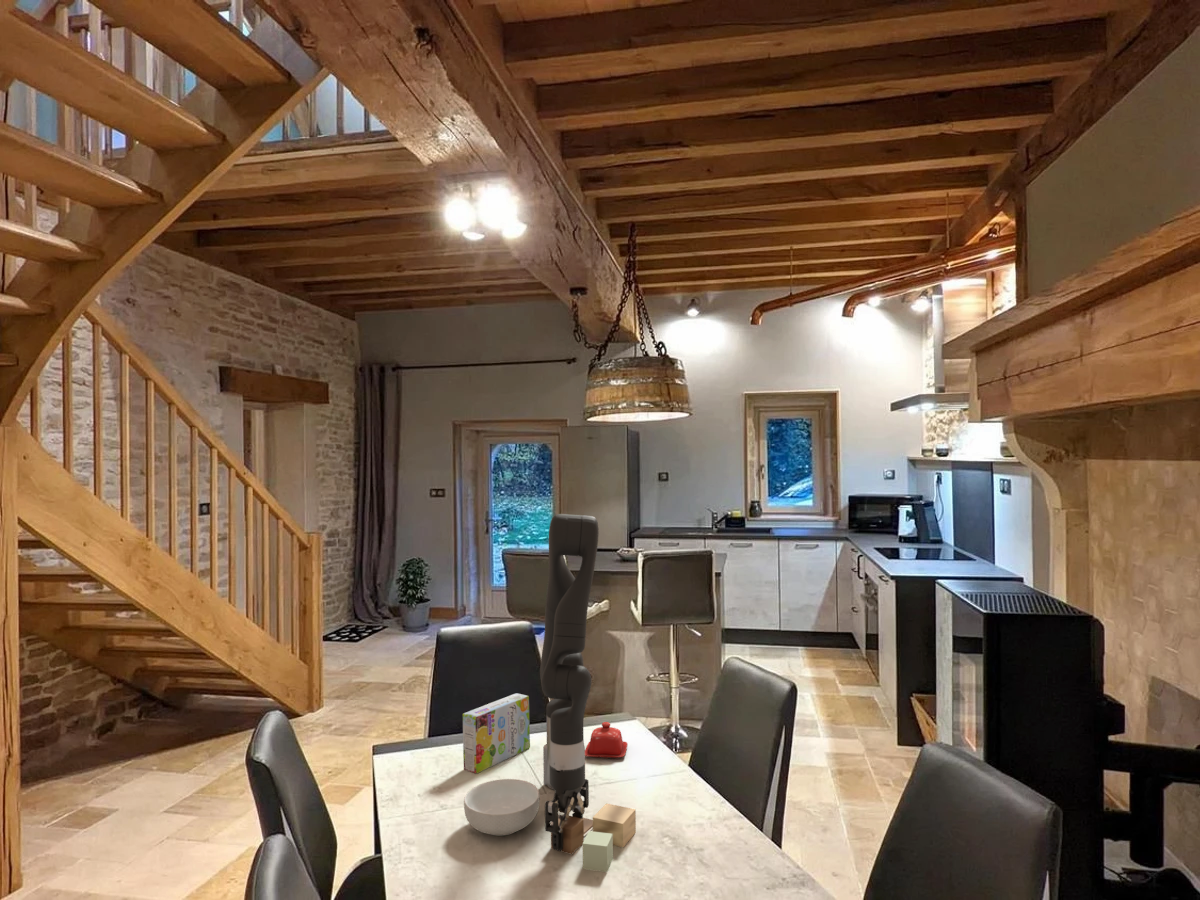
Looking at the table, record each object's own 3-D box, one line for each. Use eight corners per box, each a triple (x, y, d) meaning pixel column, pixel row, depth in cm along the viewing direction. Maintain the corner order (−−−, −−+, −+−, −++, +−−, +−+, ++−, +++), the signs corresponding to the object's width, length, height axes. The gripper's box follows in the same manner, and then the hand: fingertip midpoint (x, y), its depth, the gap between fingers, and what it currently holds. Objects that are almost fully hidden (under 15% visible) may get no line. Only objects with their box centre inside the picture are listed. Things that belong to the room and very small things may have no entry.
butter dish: (589, 744, 202) (588, 714, 202) (628, 746, 200) (628, 716, 201) (582, 760, 190) (582, 729, 191) (624, 762, 189) (624, 730, 189)
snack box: (516, 744, 202) (516, 692, 203) (530, 748, 199) (530, 695, 199) (462, 769, 185) (461, 712, 185) (476, 774, 181) (476, 716, 182)
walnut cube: (551, 848, 145) (550, 824, 145) (563, 837, 149) (563, 814, 149) (571, 854, 142) (571, 829, 142) (583, 843, 147) (583, 819, 147)
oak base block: (592, 841, 148) (592, 817, 148) (606, 826, 154) (606, 803, 154) (623, 848, 145) (622, 823, 145) (635, 832, 151) (635, 809, 151)
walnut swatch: (557, 829, 152) (557, 827, 152) (573, 816, 158) (573, 814, 158) (584, 836, 149) (584, 834, 149) (599, 823, 155) (599, 820, 155)
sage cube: (582, 869, 137) (582, 843, 137) (589, 855, 142) (588, 830, 142) (607, 872, 136) (607, 846, 136) (613, 858, 141) (612, 833, 141)
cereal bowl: (456, 817, 158) (456, 786, 159) (526, 803, 165) (526, 773, 165) (473, 854, 143) (473, 819, 143) (550, 836, 149) (549, 803, 150)
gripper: (569, 746, 154) (570, 821, 154) (533, 770, 142) (534, 852, 141) (599, 752, 151) (599, 829, 150) (564, 777, 138) (565, 861, 138)
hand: (567, 840), depth 146 cm, fingers open, 7 cm apart
